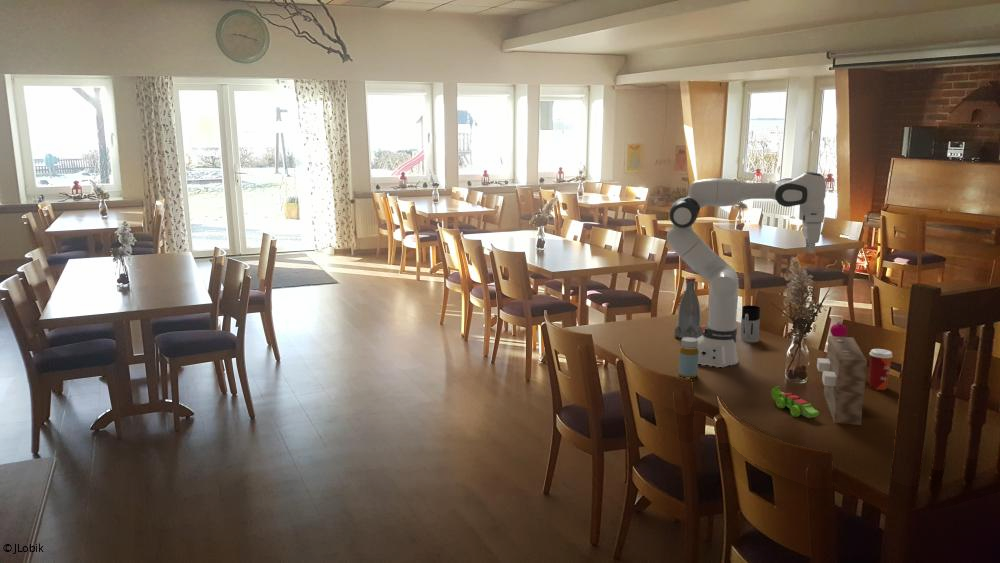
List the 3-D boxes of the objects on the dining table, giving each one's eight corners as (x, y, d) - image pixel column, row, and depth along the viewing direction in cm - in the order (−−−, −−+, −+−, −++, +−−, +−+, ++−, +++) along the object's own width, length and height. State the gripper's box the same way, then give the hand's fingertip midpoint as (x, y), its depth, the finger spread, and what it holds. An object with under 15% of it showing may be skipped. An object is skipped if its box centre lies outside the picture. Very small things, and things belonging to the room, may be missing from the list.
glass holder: (761, 338, 331) (763, 306, 328) (753, 346, 320) (755, 313, 316) (742, 335, 336) (743, 304, 333) (733, 343, 324) (735, 311, 321)
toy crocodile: (822, 421, 241) (823, 403, 240) (805, 423, 240) (806, 406, 238) (783, 399, 260) (784, 383, 259) (767, 402, 258) (768, 386, 257)
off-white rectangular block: (824, 385, 241) (824, 376, 241) (821, 379, 246) (822, 370, 246) (843, 386, 240) (844, 377, 239) (841, 381, 245) (842, 372, 244)
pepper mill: (847, 372, 286) (851, 323, 281) (827, 371, 287) (831, 322, 283) (842, 366, 293) (847, 318, 288) (823, 365, 294) (827, 317, 290)
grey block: (818, 371, 254) (819, 362, 254) (816, 366, 259) (817, 358, 259) (837, 372, 253) (838, 364, 252) (835, 367, 258) (835, 359, 257)
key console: (834, 422, 240) (839, 357, 235) (823, 394, 264) (828, 335, 259) (860, 424, 237) (867, 359, 233) (847, 396, 262) (853, 336, 257)
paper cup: (888, 392, 264) (892, 355, 261) (865, 388, 268) (868, 352, 265) (890, 385, 271) (894, 350, 268) (867, 382, 275) (870, 346, 272)
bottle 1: (705, 341, 329) (708, 280, 323) (677, 341, 329) (679, 281, 323) (698, 333, 341) (701, 274, 335) (671, 333, 341) (673, 275, 335)
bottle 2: (687, 380, 280) (688, 343, 277) (675, 374, 286) (676, 338, 283) (701, 377, 283) (702, 340, 280) (688, 371, 289) (690, 335, 286)
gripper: (800, 211, 289) (798, 245, 292) (805, 218, 270) (803, 255, 273) (817, 211, 287) (815, 245, 290) (824, 218, 268) (822, 255, 271)
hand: (809, 250), depth 282 cm, fingers open, 8 cm apart
